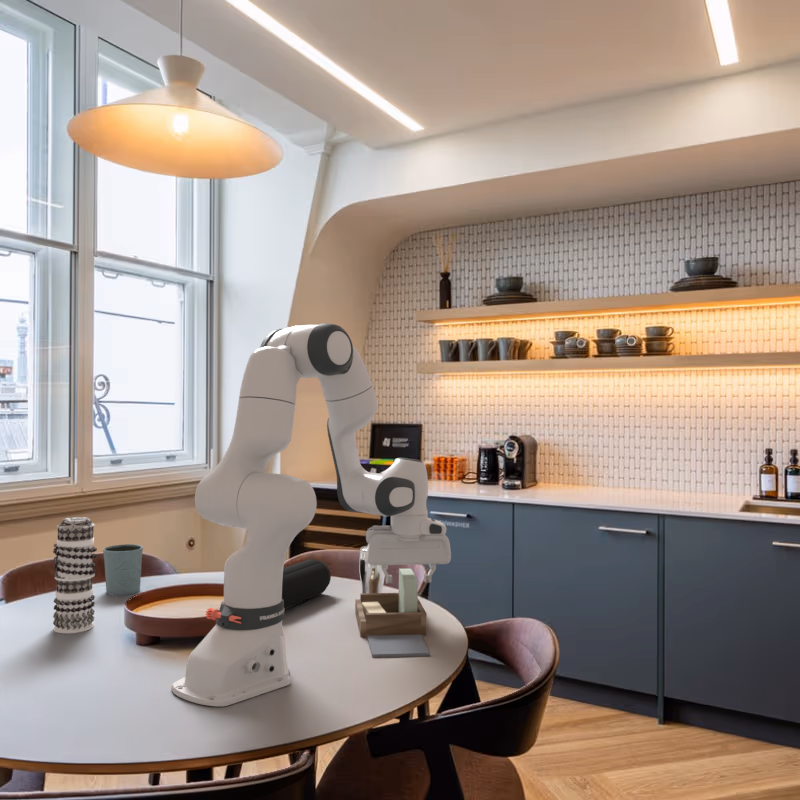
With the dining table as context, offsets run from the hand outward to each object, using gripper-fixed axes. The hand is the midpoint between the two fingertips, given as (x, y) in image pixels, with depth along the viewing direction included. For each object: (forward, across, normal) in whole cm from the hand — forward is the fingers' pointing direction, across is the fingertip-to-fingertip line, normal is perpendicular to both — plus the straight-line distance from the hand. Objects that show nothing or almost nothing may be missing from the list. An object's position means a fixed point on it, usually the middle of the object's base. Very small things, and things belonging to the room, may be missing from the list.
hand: (408, 582), depth 172 cm
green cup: (+10, -74, +34) cm, 82 cm away
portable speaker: (+10, -28, +18) cm, 35 cm away
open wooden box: (+10, -5, 0) cm, 11 cm away
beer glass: (+10, -7, +15) cm, 20 cm away
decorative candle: (+10, -77, +2) cm, 78 cm away
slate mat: (+10, -5, -16) cm, 20 cm away
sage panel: (+10, 0, 0) cm, 10 cm away
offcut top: (+8, -8, 0) cm, 12 cm away
